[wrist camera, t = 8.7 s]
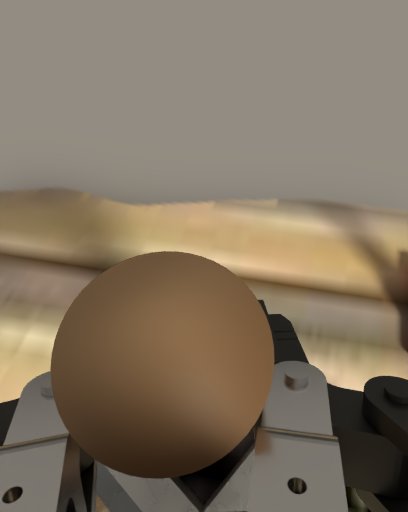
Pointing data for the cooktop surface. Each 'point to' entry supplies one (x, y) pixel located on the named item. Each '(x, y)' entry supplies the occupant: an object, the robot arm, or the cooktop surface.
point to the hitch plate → (174, 491)
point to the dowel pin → (162, 365)
